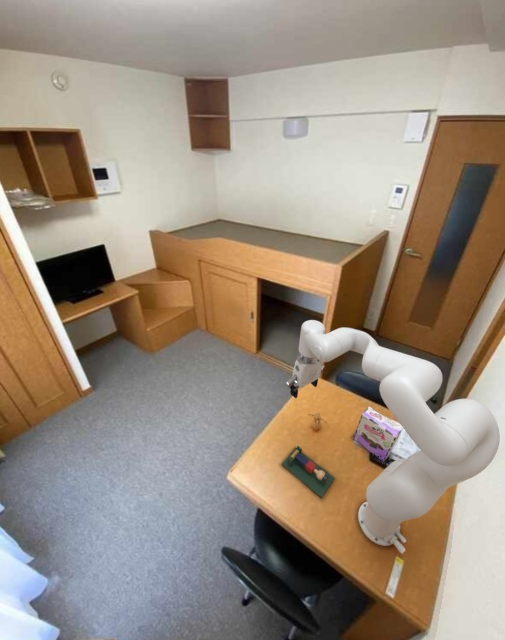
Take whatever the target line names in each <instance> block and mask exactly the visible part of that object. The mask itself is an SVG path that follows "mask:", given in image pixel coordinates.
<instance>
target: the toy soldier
mask: <svg viewBox="0 0 505 640" xmlns="http://www.w3.org/2000/svg"><path fill="white" fill-rule="evenodd" d="M291 458H293V459H294V458H295V460H296V461H297V462H298V463H300V464H301V465H302V466H303V467H305V469H306V470H307V471H308V472H310V473H311V474H312V473H313V471H314V472H315V473H316V475H317V478H318V479H319V480H322V481H323V482H325V483H326V481H327V480H328V478H329V477H328V476H327V475H326V474H325V472H324V471H322V470H319V471H318V470H317V469H316V465H315V464H314V463H313V462H311V461H310V460H308V459H306V458H305V457H304V456H303V455H301V454H300V453H299V450H296V451H295V452H294V453H293V454H292V456H291Z"/></svg>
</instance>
